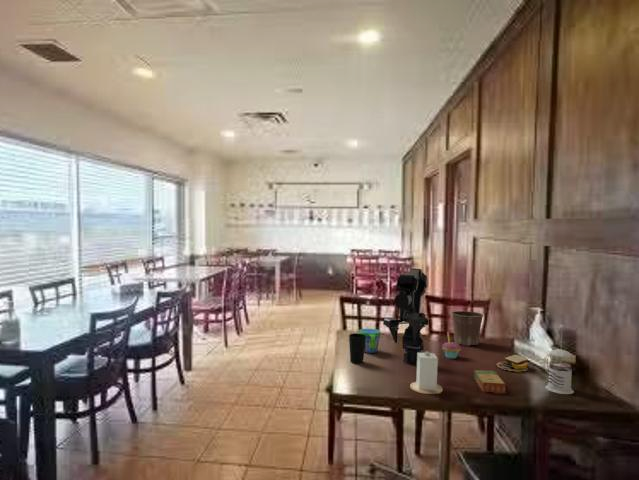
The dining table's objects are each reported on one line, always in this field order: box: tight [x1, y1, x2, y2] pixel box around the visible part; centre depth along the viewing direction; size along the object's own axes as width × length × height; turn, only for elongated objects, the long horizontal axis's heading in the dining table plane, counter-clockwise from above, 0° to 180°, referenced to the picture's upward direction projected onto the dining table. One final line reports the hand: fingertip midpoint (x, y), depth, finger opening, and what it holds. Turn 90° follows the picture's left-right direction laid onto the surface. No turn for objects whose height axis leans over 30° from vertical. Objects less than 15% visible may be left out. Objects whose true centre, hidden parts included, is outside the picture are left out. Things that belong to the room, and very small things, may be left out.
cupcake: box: [441, 331, 462, 359], centre depth 213 cm, size 9×8×12 cm
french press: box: [543, 324, 575, 395], centre depth 173 cm, size 10×12×25 cm
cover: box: [415, 350, 439, 390], centre depth 170 cm, size 6×6×13 cm
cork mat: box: [409, 381, 444, 395], centre depth 170 cm, size 12×12×1 cm
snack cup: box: [358, 328, 382, 354], centre depth 219 cm, size 16×10×10 cm
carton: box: [473, 369, 507, 394], centre depth 175 cm, size 8×16×4 cm, turn 172°
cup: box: [348, 333, 366, 365], centre depth 201 cm, size 8×8×12 cm
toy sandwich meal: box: [496, 354, 529, 373], centre depth 198 cm, size 12×14×5 cm
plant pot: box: [451, 310, 484, 347], centre depth 240 cm, size 16×16×16 cm
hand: (405, 342), depth 187 cm, fingers open, 9 cm apart
